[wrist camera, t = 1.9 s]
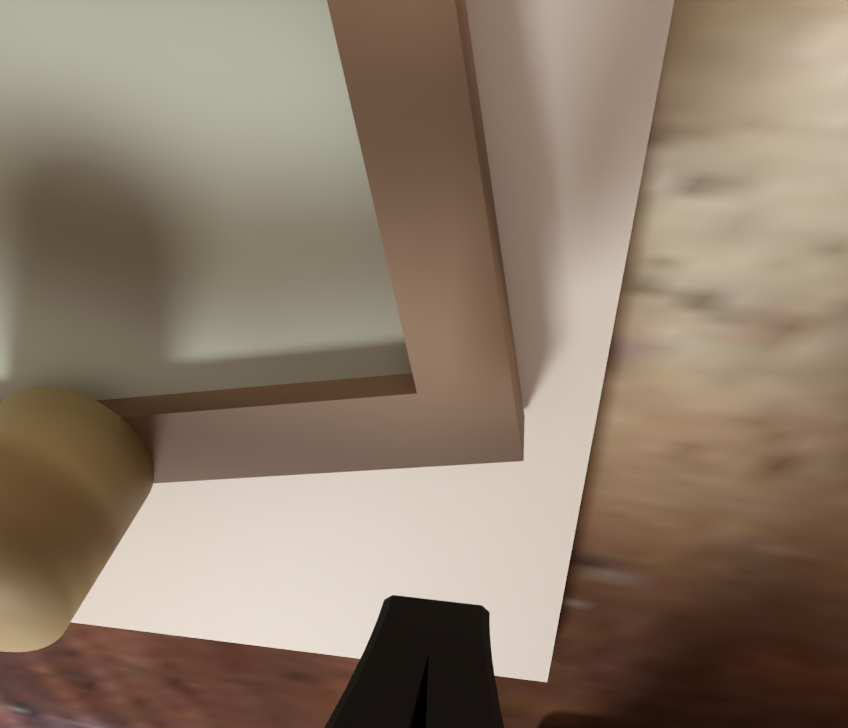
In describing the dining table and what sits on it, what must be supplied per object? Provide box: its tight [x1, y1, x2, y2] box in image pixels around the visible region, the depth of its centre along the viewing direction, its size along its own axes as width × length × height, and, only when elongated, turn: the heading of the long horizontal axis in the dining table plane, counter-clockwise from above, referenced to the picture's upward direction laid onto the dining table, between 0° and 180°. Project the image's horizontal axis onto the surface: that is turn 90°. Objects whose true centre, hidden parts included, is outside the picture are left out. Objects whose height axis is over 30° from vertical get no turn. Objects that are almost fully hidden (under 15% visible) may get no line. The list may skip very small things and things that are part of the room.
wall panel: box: [71, 0, 675, 682], centre depth 13 cm, size 20×21×1 cm
